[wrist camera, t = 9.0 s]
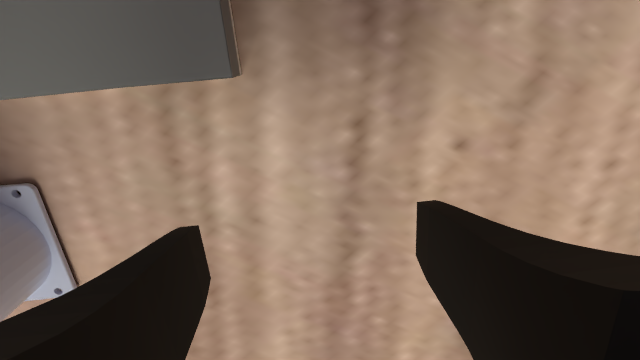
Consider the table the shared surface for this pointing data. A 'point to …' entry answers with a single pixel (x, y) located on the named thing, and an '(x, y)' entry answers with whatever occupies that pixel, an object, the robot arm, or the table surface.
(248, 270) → the table surface
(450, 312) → the robot arm
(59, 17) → the grill press
